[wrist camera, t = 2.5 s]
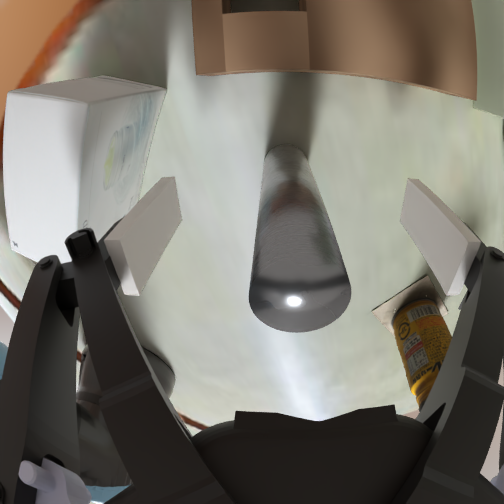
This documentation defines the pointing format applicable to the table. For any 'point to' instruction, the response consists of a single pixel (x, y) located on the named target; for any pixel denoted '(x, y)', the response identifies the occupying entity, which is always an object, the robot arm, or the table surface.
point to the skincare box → (74, 158)
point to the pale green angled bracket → (489, 55)
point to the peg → (295, 250)
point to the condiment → (418, 334)
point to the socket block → (344, 41)
